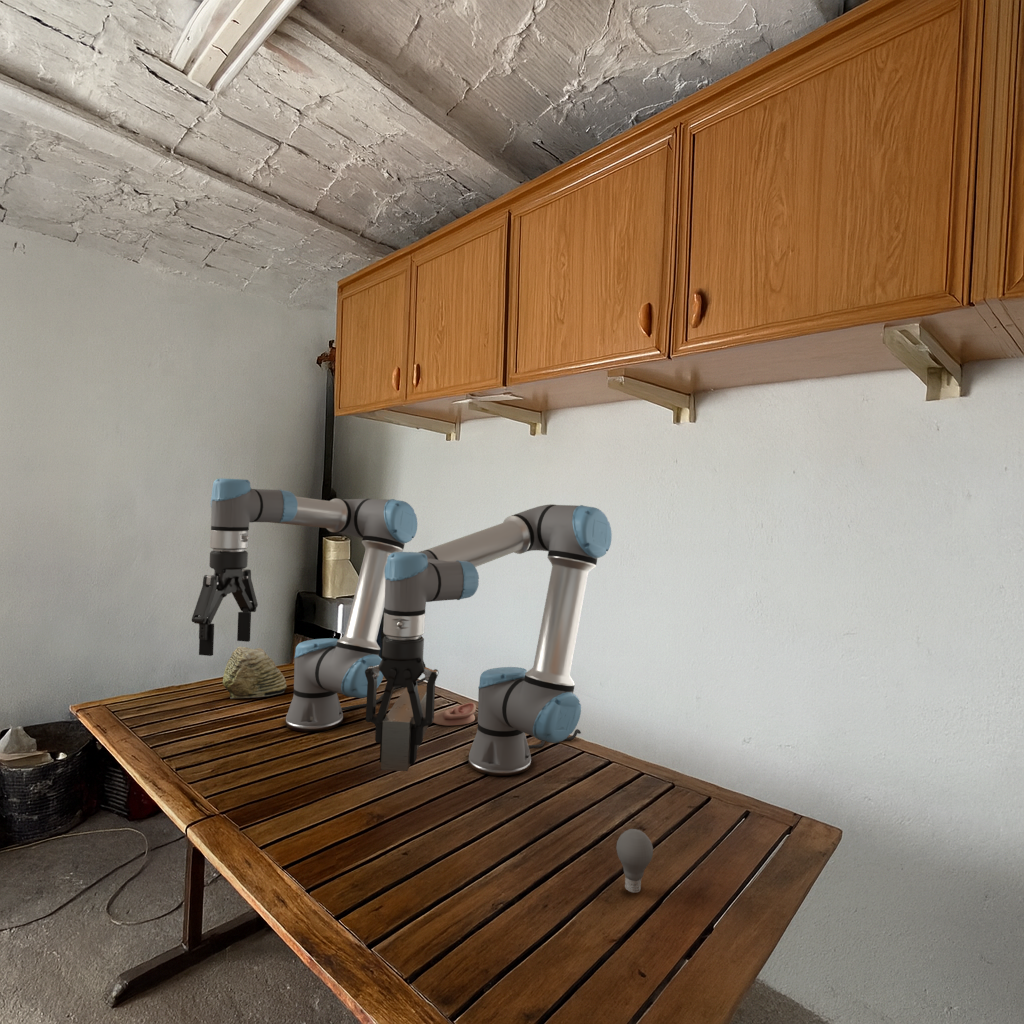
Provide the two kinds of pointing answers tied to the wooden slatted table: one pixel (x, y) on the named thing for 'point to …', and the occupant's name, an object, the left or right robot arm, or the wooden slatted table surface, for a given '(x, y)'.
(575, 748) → the wooden slatted table surface
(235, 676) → the fossil
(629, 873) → the light bulb
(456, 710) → the anatomical model
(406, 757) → the bar
